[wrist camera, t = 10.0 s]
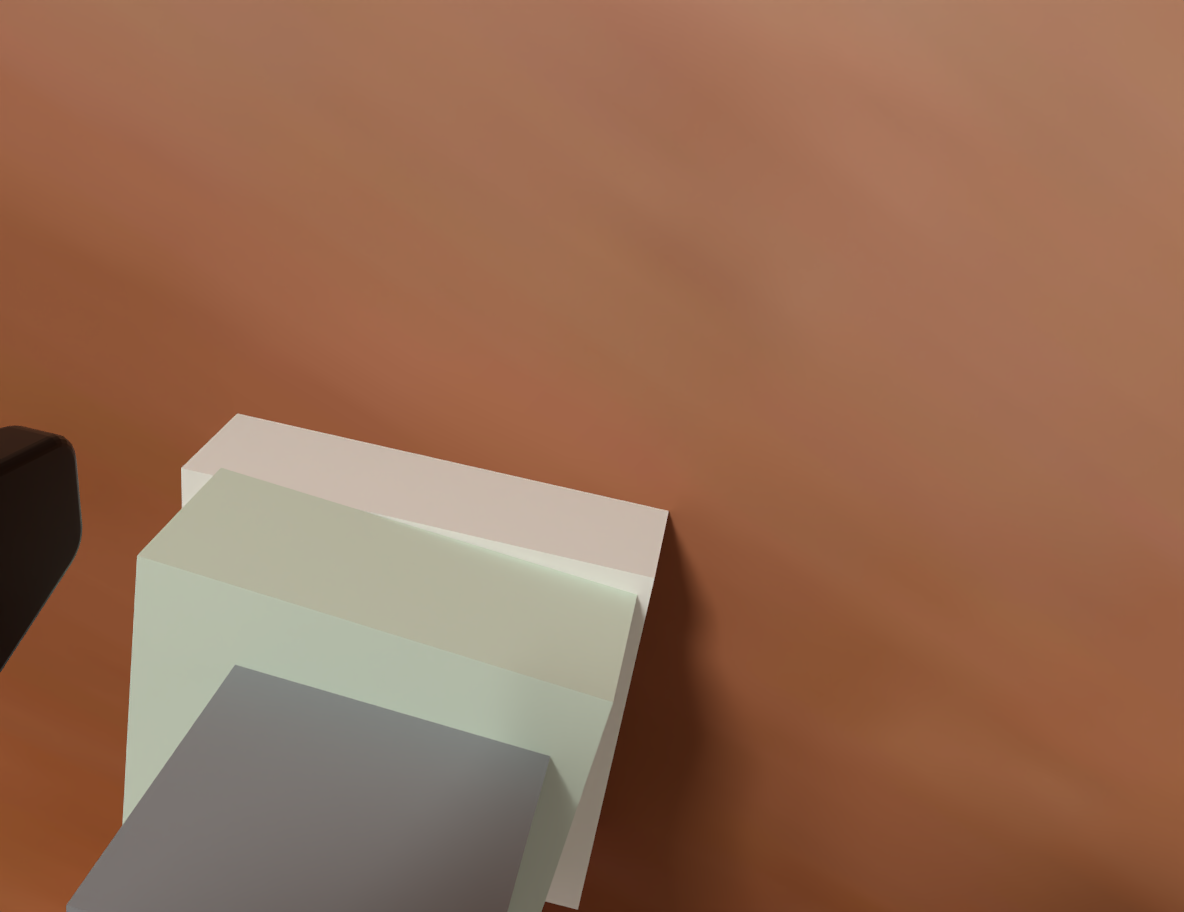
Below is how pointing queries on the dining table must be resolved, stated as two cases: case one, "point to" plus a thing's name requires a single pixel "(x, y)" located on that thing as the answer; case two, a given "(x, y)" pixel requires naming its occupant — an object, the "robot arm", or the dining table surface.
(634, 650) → the tower bottom block
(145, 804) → the gray block
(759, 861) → the dining table surface
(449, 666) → the tower top block
